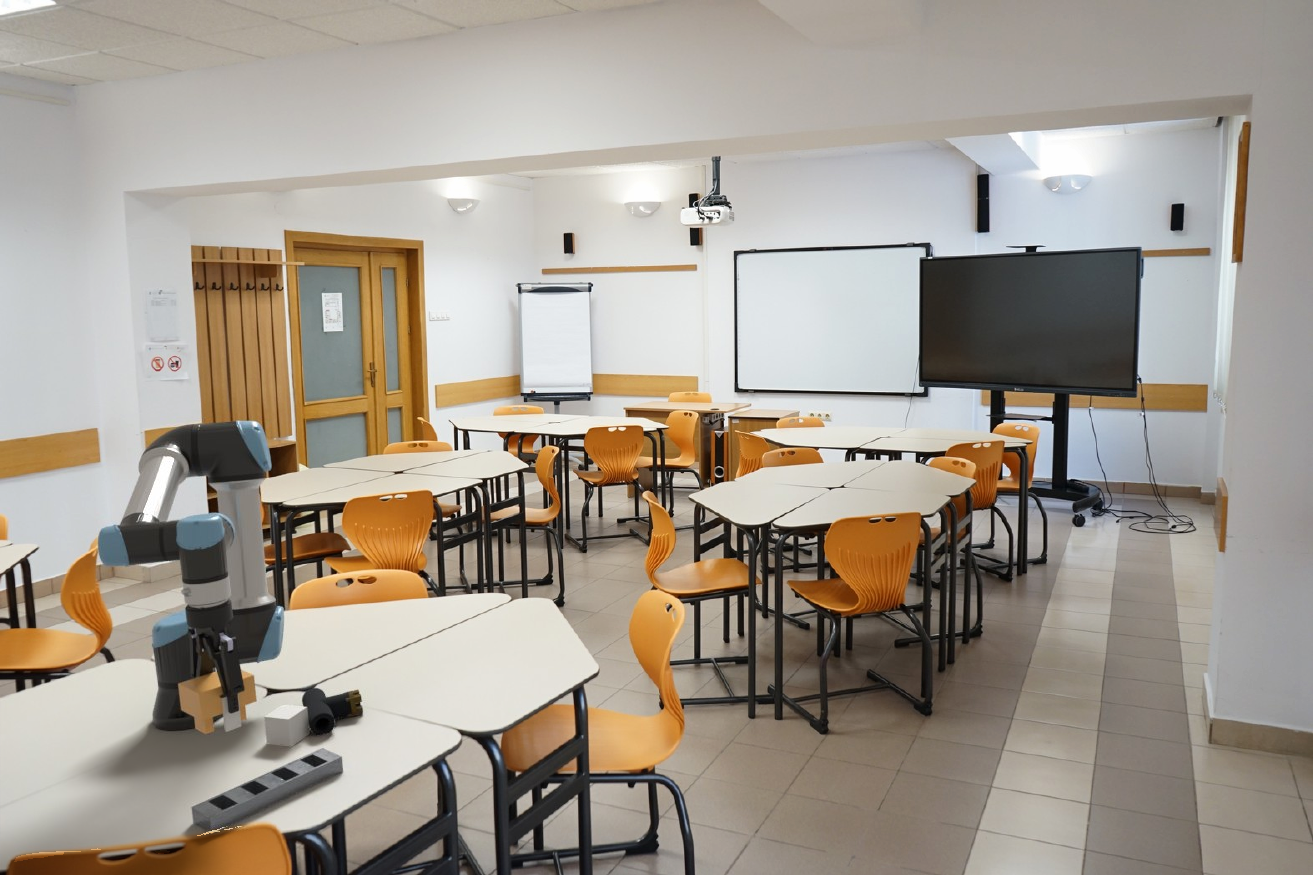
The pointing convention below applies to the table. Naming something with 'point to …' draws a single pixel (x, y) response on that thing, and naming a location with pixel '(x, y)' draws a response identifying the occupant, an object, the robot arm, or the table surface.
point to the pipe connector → (329, 708)
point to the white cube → (286, 725)
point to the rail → (266, 790)
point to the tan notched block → (211, 698)
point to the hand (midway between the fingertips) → (221, 722)
